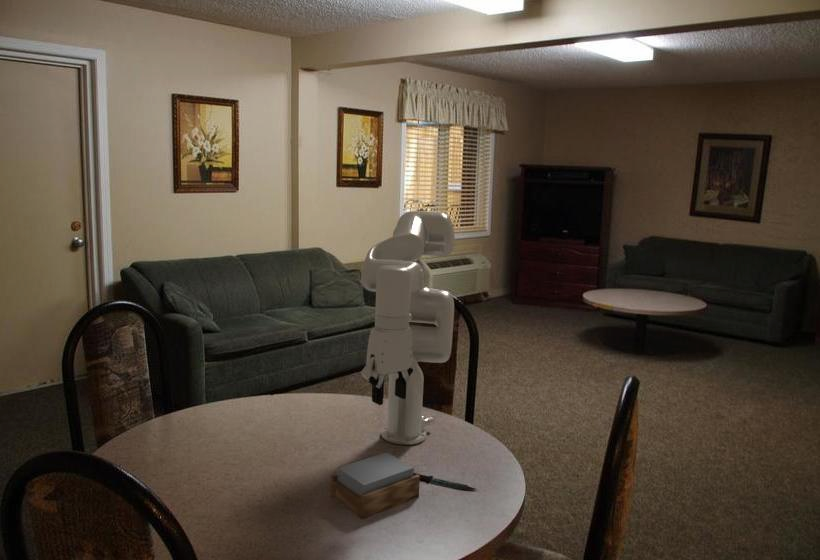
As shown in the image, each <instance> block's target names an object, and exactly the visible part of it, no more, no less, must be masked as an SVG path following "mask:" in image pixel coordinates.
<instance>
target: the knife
mask: <svg viewBox="0 0 820 560" xmlns="http://www.w3.org/2000/svg"><path fill="white" fill-rule="evenodd" d="M415 475H419V476H420V482H425V483H426V484H430V483H431V484H435V485H438V486H443V487H444V486H445V487H448V488H453V489H459V490H469V491H470V490H471V491H472V490H477V488H474V487H471V486H469V485H468V484H465V483H460V482H459V483H458V482H455V481H451V480H447V479H446V480H445V479H440V478H435V477H434V476H433V475H425V474H420V473H415V472H414V473H413V476H415Z"/></svg>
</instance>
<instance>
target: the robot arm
mask: <svg viewBox="0 0 820 560" xmlns="http://www.w3.org/2000/svg"><path fill="white" fill-rule="evenodd" d="M454 229H455V228H454V224H453V221H452V219H451V217H450V216H449V215H448V214H446V213H444V212H438V211H437V212H436V211H435V212H434V211H418V210H417V211H416V210H415V211H414V210H413V211H407V212H405V213H403V214H401V216H400V217H399V218H398V220H397V223H396V227H395V228H394V230H393V233H392V236H390V237H389V238H387V239H385V240H382V241H380V242H378V243H376V244H375V245H373V246H372V247H371V248H370V249H369V250H368V252H367V254H366V256H365V258H364V262H363V264H362V267H361V272H360V280H361V283H362V284H361V285H362V286H363V287H364V289H366V290H367V291H370V292H375V315H374V326H373V327H372V328H371V330H370V333H369V336H368V337H369V338H368V343H367V350H366V351H367V352H366V361H365V364H366V365H365V366H364V368H363V369H362V370H361V372H360V375H361V376H362V377H363V378H364V379H366V381H367V382H368V383H369V385H370V386H372V387H371V401H372V402H373V403H374V404H377V405H378V406H381V405H383V404H384V390H385V389H384V387H383V386H382V385H383V382H384V380H385V379H384V378H385V376H386V375H388V395H387V396H388V401H387V421H386V423H387V425H386V426H384V427H382V429H381V432H380V433H381V434H380V435H381V437H382V438H383V440H385V441H386V442H389V443H391V444H394V445H403V446H404V445H405V446H409V445H417V444H420V443H422V442H424V441H425V440H426V439H427V431H426V430H425V428H426V426H429V425H432V424H434V423H435V419H434V418H433V417H432V416H430V417H424V416H423V402H424V401H423V396H424V382H425V381H424V380H425V379H424V378H425V377H424V373H423V371H422V369H421V367H420V366H419V362H423V363H435V364H436V363H438V364H441V363H442V364H443V363H446V362H447V361H449V359H450V358H451V354H452V347H453V346H452V345H453V332H454V320H455V319H454V318H455V301H454V296H453V294H451V292H450V291H448V290H444V289H434V288H432V289H431V288H430V280H431V273H430V270H429V268H428V267H427V266H426V264H425V262H424V261H423V260H422V259H421V258H422V256H431V257H433V256H436V257H447V256H450V255H451V254H452V253H453V251H454V248H455V245H456V244H455V243H456V236H455V230H454ZM410 323H421V324H422V323H423V324H433V325H435V326H436V327H435V326H434V327H433V326H423V325H422V326H421V325H411V324H410ZM371 372H372V373H371Z"/></svg>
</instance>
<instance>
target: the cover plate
mask: <svg viewBox="0 0 820 560" xmlns="http://www.w3.org/2000/svg"><path fill="white" fill-rule="evenodd" d="M337 473H338V481H339V482H340V483H342V484H343V485H345V486H346V487H348V488H349V489H351V490H352V491H354V492H355V493H356V494H358V495H359V496H361V495H362V494H365V493H368V492H371V491H373V490H376V489H379V488H382V487H384V486H387V485H390V484H393V483H396V482H398V481H401V480H404V479H407V478H409V477H412V476H413V473H415V472H414V467H413V466H412V465H410V464H408V463H406V462H404V461H403V460H401V459H399V458H398V457H396V456H394V455H392V454H390V453H389V452H384V453H381V454H380V453H379V454H378V455H374V456H371V457H369V458H365V459H362V460H358V461H355V462H352V463H350V464H346V465H343V466H340V467H338V468H337Z"/></svg>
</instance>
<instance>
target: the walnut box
mask: <svg viewBox="0 0 820 560" xmlns="http://www.w3.org/2000/svg"><path fill="white" fill-rule="evenodd" d="M420 482H421V481H420V476H419V475H415V476H412V477H409V478H407V479H404V480H401V481H398V482H396V483H393V484H390V485H387V486H384V487H382V488H379V489H376V490H373V491H371V492H368V493H365V494H362V495H361V496H359V495H358V494H356V493H355V492H354V491H352V490H351V489H349V488H348V487H346V486H345V485H343V484H342V483H340V482H339V481H338V472H335V473H333V474H331V475H330V497H331V498H332V499H333V500H335V501H336V500H337V502H338V503H339V502H340V503H339V504H341V505H342V504H343V505H344V506H343V505H342V506H343V507H345V508H346V507H347V508H348V510H349V511H350V512H351V511H352V512H351V513H353V514H354V515H355V516H357V517H358V518H359V519H361V520H365V519H366V518H370V517H372V516H374V515H376V514H379V513H382V512H385V511H387V510H390V509H392V508H394V507H398V506H399V505H403V504H405V503H407V502H410V501H413V500H415V499H417V498H419V497H420ZM347 508H346V509H347Z"/></svg>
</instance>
